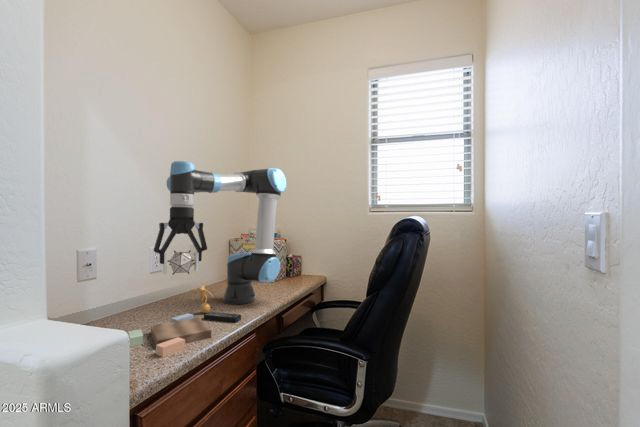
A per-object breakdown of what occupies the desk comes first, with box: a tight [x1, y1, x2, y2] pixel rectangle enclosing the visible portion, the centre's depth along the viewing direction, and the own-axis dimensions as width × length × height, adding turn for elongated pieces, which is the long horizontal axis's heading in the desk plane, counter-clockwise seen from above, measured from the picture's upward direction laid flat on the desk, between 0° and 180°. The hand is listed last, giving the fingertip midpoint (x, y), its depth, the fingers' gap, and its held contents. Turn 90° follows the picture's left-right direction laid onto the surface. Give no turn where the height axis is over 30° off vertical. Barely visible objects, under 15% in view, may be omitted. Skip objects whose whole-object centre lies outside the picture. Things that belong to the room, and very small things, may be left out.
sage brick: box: [127, 328, 144, 347], centre depth 98 cm, size 7×4×3 cm, turn 37°
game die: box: [167, 250, 195, 276], centre depth 105 cm, size 9×8×10 cm
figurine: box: [194, 285, 214, 314], centre depth 128 cm, size 8×6×12 cm
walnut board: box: [150, 317, 212, 346], centre depth 104 cm, size 16×16×2 cm
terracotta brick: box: [155, 337, 186, 358], centre depth 91 cm, size 7×4×3 cm, turn 148°
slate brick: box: [170, 312, 195, 322], centre depth 115 cm, size 7×4×3 cm, turn 149°
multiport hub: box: [203, 311, 242, 324], centre depth 121 cm, size 4×14×2 cm, turn 75°
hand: (181, 272), depth 104 cm, fingers closed on game die, 9 cm apart
